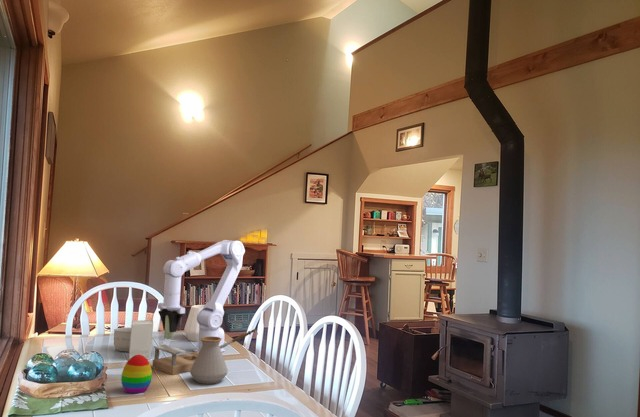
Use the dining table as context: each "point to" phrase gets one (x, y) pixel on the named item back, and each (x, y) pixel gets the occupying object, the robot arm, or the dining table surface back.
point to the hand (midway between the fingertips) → (169, 331)
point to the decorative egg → (136, 375)
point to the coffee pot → (212, 360)
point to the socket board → (173, 360)
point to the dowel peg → (167, 332)
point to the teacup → (122, 338)
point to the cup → (193, 323)
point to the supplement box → (141, 338)
